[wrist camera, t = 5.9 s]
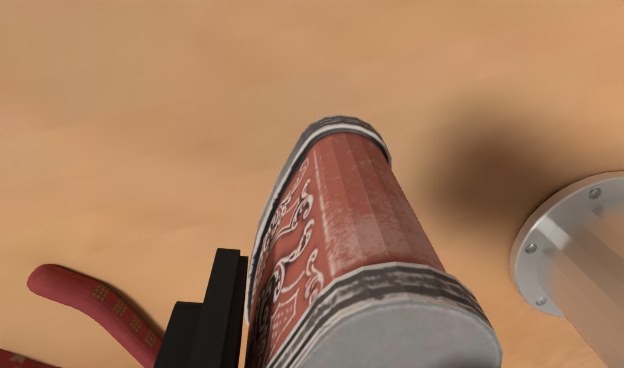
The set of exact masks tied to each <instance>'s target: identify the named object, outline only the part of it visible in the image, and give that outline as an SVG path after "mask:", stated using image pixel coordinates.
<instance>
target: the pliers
mask: <svg viewBox="0 0 624 368" xmlns="http://www.w3.org/2000/svg"><path fill="white" fill-rule="evenodd" d="M27 286H28V288H29V289H30V290H31V291H32V292H33V293H35V294H37V295H39V296H42V297H45V298H47V299H50V300H53V301H56V302H59V303H61V304H64V305H67V306H71V307H73V308H75V309H78V310H80V311H81V312H83V313H85V314H87V315H88V316H90V317H91V318H93V319H94V320H95V321H97V322H98V323H99V324H100V325H101V326H103V327H104V328H105V329H106V330H107V331H108V332H109V333H110V334H111V335H112V336H113V337H114V338H115V339H116V340H117V341H118V342H119V343H120V344H121V345H122V346H123V347H124V348H125V349H126V350H127V351H128V352H129V353H130V354H131V355H132V356H133V357H134V358H135V359H136V360H137V361H138V362H139V363H140V364H141V365H142V366H143V367H144V368H153V367H154V364H155V361H156V358H157V355H158V352H159V349H160V346H161V343H162V340H161V339H160V338H159V337H158V336H157V335H156V333H155V332H154V331H153V330H152V329H151V328H150V327H149V326H148V325H147V324H146V323H145V322H144V321H143V320H142V319H141V318H140V317H139V316H138V315H137V313H136V312H135V311H134V310H133V309H132V308H131V307H130V306H129V305H128V304H127V303H126V302H125V301H124V300H123V299H122V298H121V297H120V296H118V295H117V294H116V293H115V292H113V291H112V290H111V289H109V288H108V287H107V286H105V285H103V284H102V283H100V282H98V281H96V280H94V279H91V278H88V277H86V276H83V275H80V274H77V273H75V272H72V271H69V270H67V269H64V268H61V267H59V266H56V265H52V264H44V265H41V266H39V267H38V268H36V269H35V270H34V271H33V272H32V273H31V275H30V276H29V278H28V281H27ZM0 368H60V367H54V366H49V365H45V364H42V363H38V362H36V361H33V360H30V359H27V358H24V357H22V356H19V355H16V354H13V353H10V352H8V351H5V350H2V349H0Z"/></svg>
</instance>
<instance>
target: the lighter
mask: <svg viewBox="0 0 624 368" xmlns="http://www.w3.org/2000/svg"><path fill="white" fill-rule="evenodd" d="M245 319H246V324H247V326H248V327H249V330H248V339H247V348H246V357H245V366H244V368H501V364H502V358H503V350H502V348H501V345H500V343H499V340H498V338H497V335H496V333H495V331H494V329H493V327H492V326H491V324H490V322H489V321H488V319H487V317H486V315H485V314H484V312H483V310H482V309H481V307H480V305H479V303H478V302H477V300H476V298H475V297H474V295H473V293H472V292H471V291H470V290H469V289H468V288H467V287H465V286H464V285H463V284H462V283H461V282H460V281H459V280H458V279H457V278H455V277H454V276H453V275H450V274H448V273H446V271H445V269H444V267H443V265H442V263H441V262H440V260H439V258H438V256H437V254H436V252H435V250H434V249H433V247H432V245H431V243H430V241H429V239H428V237H427V235H426V234H425V232H424V230H423V228H422V226H421V224H420V222H419V221H418V219H417V217H416V215H415V213H414V211H413V209H412V208H411V206H410V204H409V202H408V200H407V198H406V196H405V195H404V193H403V191H402V189H401V187H400V185H399V183H398V182H397V180H396V178H395V176H394V174H393V172H392V170H391V156H390V153H389V151H388V149H387V146H386V144H385V143H384V141H383V139H382V138H381V136H380V134H379V133H378V132H377V131H376V130H375V129H374V128H373V127H372V126H371V125H370V124H369V123H367V122H364V121H362V120H360V119H358V118H356V117H352V116H345V115H334V116H328V117H323V118H321V119H319V120H317V121H315V122H313V123H311V124H310V125H309V126H308V127H307V128H306V130H305V131H304V132H303V133H302V134H301V136H300V138H299V139H298V141H297V143H296V145H295V146H294V148H293V150H292V152H291V153H290V155H289V157H288V159H287V161H286V162H285V164H284V166H283V168H282V169H281V171H280V173H279V175H278V176H277V178H276V181H275V183H274V186H273V188H272V191H271V193H270V196H269V198H268V200H267V203H266V205H265V208H264V210H263V213H262V215H261V218H260V220H259V224H258V228H257V233H256V237H255V241H254V246H253V250H252V255H251V259H250V265H249V272H248V281H247V294H246V308H245Z"/></svg>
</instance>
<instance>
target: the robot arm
mask: <svg viewBox="0 0 624 368" xmlns="http://www.w3.org/2000/svg"><path fill="white" fill-rule="evenodd" d="M247 268H248V256H240V250H236V249H224V248H218V249H217V251H216V255H215V259H214V263H213V267H212V271H211V275H210V279H209V283H208V286H207V290H206V294H205V298H204V302H203V303H195V302H180V301H177V302H176V304H175V306H174V308H173V311H172V314H171V317H170V320H169V323H168V326H167V329H166V332H165V335H164V338H163V340H162V343H161V346H160V349H159V352H158V355H157V358H156V361H155V364H154V367H153V368H238V363H239V355H240V347H241V337H242V325H243V314H244V302H245V291H246V279H247ZM509 271H510V275H511V280H512V282H513V284H514V286H515V288H516V290H517V291H518V292H519V294H520V295H521V296H522V297H523V299H524V300H525V301H526V302H527V303H528V304H529V305H530V306H532V307H533V308H534V309H536V310H539V311H541V312H543V313H545V314H549V315H553V316H558V317H566V318H567V319H568V321H569V322H570V323H571V324H572V325H573V327H574V328H575V329H576V330H577V331H578V333H579V334H580V335H581V336H582V337H583V339H584V340H585V341H586V342H587V343H588V345H589V346H590V347H591V348H592V349H593V351H594V352H595V353H596V354H597V355H598V357H599V358H600V359H601V360H602V361H603V362H604V364H605V365H606V366H607V367H608V368H624V171H615V172H606V173H602V174H597V175H593V176H589V177H587V178H585V179H582V180H580V181H577V182H575V183H572V184H571V185H569V186H567V187H565V188H564V189H562V190H560V191H559V192H557V193H555V194H554V195H553V196H551V197H550V198H549V199H548V200H546V201H545V202H544V203H543V204H541V205H540V206H539V207H538V208H537V209H536V210H535V212H534V213H533V214H532V215H531V216H530V217H529V218H528V219H527V221H526V222H525V224H524V225H523V226H522V228H521V229H520V231H519V233H518V235H517V237H516V239H515V241H514V243H513V246H512V250H511V254H510V262H509Z"/></svg>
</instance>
